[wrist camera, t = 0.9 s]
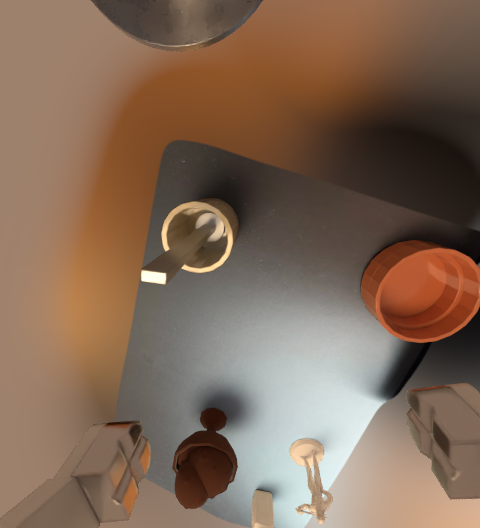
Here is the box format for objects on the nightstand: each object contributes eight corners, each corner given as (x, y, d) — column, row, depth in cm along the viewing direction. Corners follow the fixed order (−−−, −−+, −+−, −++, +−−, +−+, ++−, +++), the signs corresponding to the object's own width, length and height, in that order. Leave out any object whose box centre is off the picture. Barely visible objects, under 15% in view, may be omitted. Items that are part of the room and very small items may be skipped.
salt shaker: (272, 491, 57) (275, 549, 48) (269, 503, 58) (271, 562, 49) (254, 488, 57) (254, 545, 48) (251, 500, 58) (251, 558, 49)
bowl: (373, 233, 39) (393, 241, 34) (465, 246, 39) (501, 256, 33) (349, 315, 44) (364, 334, 38) (433, 327, 43) (460, 348, 38)
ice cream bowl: (202, 445, 54) (183, 538, 40) (177, 405, 51) (147, 490, 37) (248, 431, 52) (245, 523, 38) (225, 389, 50) (212, 472, 35)
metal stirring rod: (198, 209, 39) (121, 240, 17) (227, 213, 39) (187, 250, 17) (196, 238, 40) (121, 302, 18) (223, 241, 40) (183, 311, 18)
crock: (187, 194, 39) (162, 197, 29) (242, 201, 39) (237, 207, 29) (184, 247, 42) (160, 267, 31) (235, 254, 42) (228, 277, 31)
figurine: (317, 434, 51) (334, 505, 40) (329, 459, 53) (349, 533, 42) (283, 444, 53) (291, 516, 41) (296, 468, 54) (307, 543, 43)
